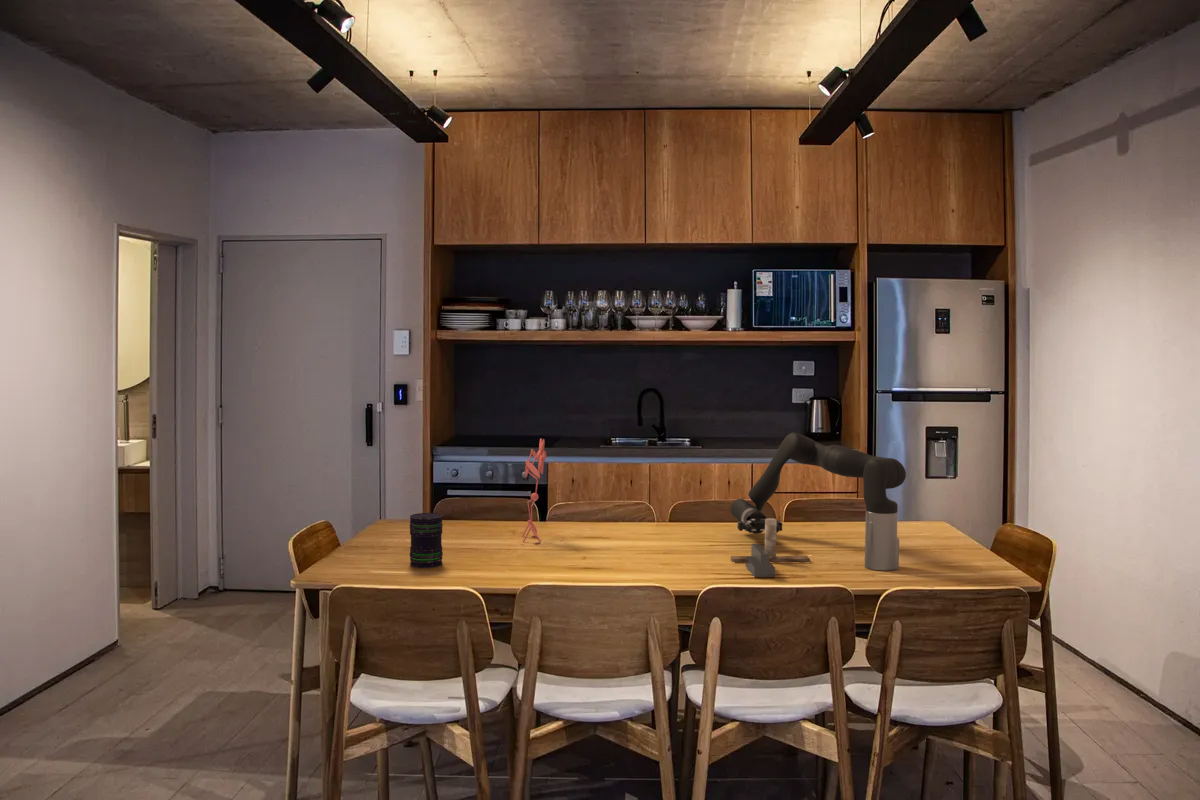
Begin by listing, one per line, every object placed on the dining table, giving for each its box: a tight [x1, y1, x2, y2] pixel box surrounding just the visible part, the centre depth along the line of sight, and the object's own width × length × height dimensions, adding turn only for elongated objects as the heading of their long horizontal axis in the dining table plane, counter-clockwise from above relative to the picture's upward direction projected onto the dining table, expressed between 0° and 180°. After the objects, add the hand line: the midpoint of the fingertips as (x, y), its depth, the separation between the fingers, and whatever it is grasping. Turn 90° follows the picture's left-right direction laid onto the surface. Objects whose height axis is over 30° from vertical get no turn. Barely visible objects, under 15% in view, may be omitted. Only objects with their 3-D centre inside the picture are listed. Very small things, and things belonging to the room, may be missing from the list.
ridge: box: [744, 543, 776, 578], centre depth 273 cm, size 6×14×7 cm, turn 2°
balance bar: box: [730, 517, 811, 563], centre depth 287 cm, size 24×4×14 cm, turn 92°
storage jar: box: [409, 512, 444, 569], centre depth 280 cm, size 10×10×15 cm
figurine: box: [520, 438, 562, 546], centre depth 317 cm, size 15×26×35 cm, turn 6°
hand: (763, 529), depth 297 cm, fingers open, 8 cm apart
